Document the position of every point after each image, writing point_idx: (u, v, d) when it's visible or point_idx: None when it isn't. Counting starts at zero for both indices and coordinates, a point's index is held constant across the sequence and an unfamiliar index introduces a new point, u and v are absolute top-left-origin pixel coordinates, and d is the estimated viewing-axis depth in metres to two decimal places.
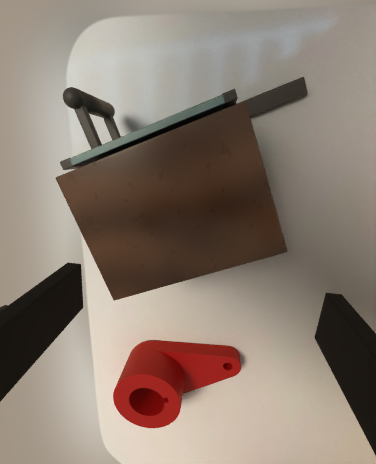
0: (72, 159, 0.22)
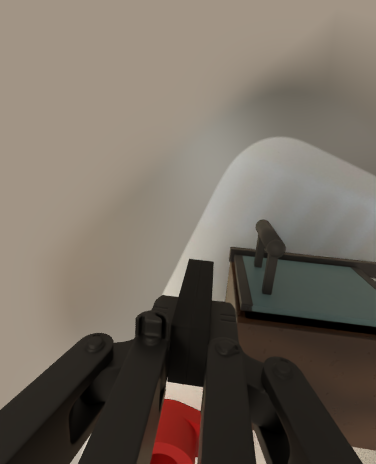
0: (255, 307, 0.22)
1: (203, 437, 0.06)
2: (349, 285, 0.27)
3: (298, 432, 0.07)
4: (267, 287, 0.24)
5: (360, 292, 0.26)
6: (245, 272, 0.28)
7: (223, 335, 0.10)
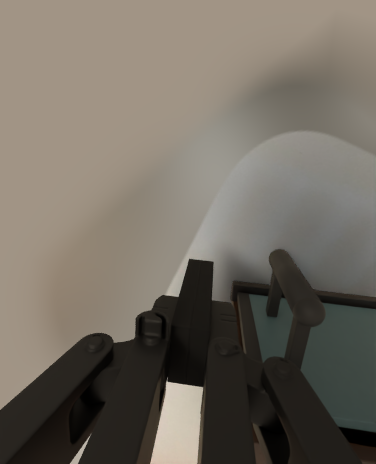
0: None
1: (203, 437, 0.06)
2: None
3: (298, 432, 0.07)
4: None
5: None
6: (255, 328, 0.20)
7: (223, 335, 0.10)
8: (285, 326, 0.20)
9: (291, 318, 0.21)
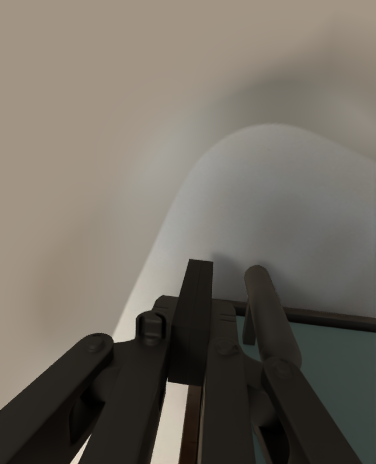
0: None
1: (203, 437, 0.06)
2: None
3: (298, 432, 0.07)
4: None
5: None
6: None
7: (223, 335, 0.10)
8: None
9: None
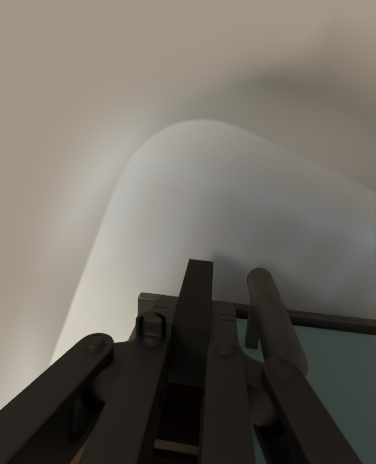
0: None
1: (203, 437, 0.06)
2: None
3: (298, 432, 0.07)
4: None
5: None
6: None
7: (223, 335, 0.10)
8: None
9: None
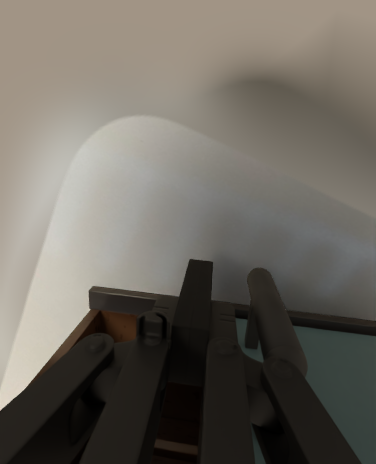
0: None
1: (202, 437, 0.06)
2: None
3: (297, 432, 0.07)
4: None
5: None
6: None
7: (223, 335, 0.10)
8: None
9: None
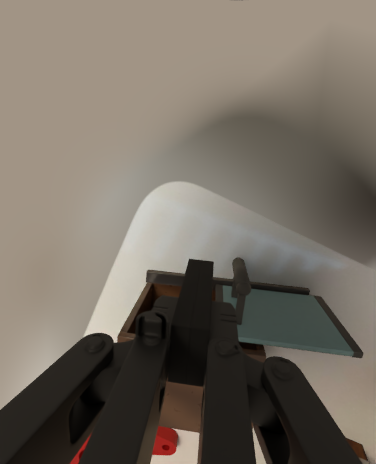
0: None
1: (203, 437, 0.06)
2: (308, 314, 0.33)
3: (298, 432, 0.07)
4: (238, 318, 0.29)
5: (316, 321, 0.32)
6: None
7: (223, 335, 0.10)
8: None
9: (245, 298, 0.35)
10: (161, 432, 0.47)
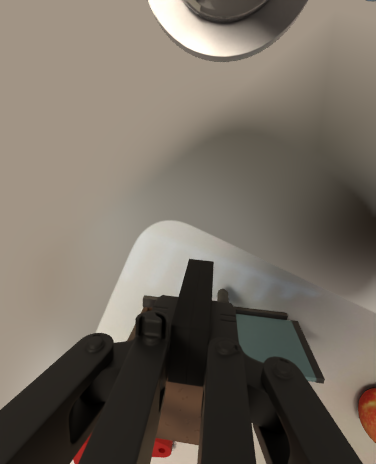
0: None
1: (203, 437, 0.06)
2: (283, 340, 0.38)
3: (298, 432, 0.07)
4: None
5: (288, 347, 0.36)
6: None
7: (224, 335, 0.10)
8: None
9: None
10: None
